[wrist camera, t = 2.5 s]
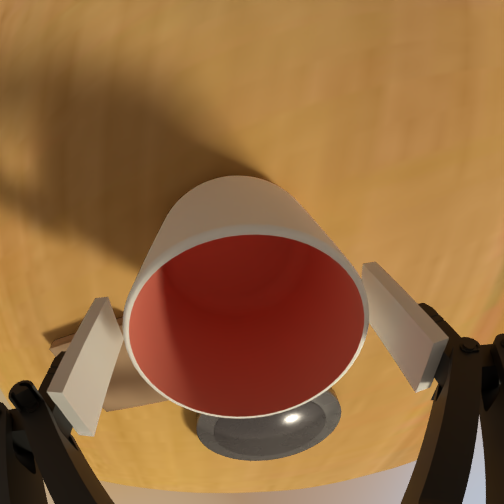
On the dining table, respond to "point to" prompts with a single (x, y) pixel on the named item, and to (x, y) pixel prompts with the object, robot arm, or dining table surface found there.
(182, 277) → the cup
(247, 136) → the dining table surface
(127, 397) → the oak coaster
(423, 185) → the dining table surface
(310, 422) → the grey plate
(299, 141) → the dining table surface
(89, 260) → the dining table surface
